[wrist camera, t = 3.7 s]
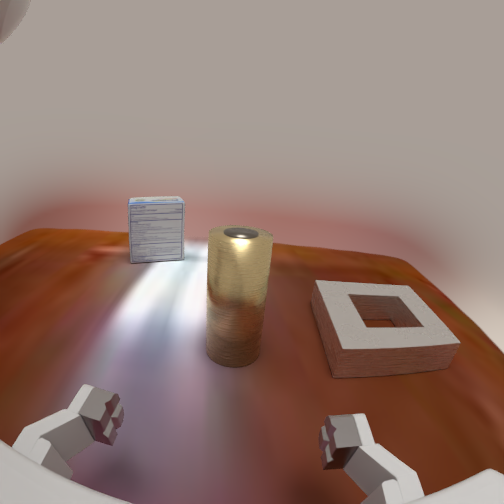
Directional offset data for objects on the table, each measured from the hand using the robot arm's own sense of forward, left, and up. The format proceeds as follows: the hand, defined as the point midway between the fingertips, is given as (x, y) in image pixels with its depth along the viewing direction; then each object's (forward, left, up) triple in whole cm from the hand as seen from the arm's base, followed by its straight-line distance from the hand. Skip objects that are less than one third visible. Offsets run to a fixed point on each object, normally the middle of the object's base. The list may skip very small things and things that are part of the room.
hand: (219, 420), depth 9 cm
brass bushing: (0, +12, -6) cm, 14 cm away
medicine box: (-13, +31, -6) cm, 34 cm away
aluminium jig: (+14, +15, -6) cm, 21 cm away
